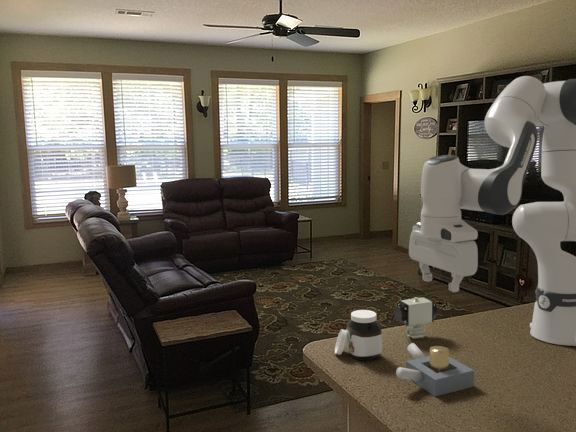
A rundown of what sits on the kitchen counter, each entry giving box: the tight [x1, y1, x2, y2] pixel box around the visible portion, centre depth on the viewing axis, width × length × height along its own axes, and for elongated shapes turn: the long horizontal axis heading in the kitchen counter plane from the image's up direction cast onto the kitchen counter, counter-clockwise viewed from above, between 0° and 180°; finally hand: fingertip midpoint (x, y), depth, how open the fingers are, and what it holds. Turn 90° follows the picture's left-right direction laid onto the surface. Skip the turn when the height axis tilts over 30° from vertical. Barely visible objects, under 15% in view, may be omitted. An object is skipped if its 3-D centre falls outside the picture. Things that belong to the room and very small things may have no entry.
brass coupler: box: [429, 345, 450, 373], centre depth 120 cm, size 4×4×8 cm
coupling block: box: [395, 342, 475, 397], centre depth 122 cm, size 17×17×6 cm
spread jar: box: [334, 309, 383, 361], centre depth 136 cm, size 12×11×12 cm
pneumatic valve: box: [394, 296, 439, 340], centre depth 148 cm, size 6×12×12 cm, turn 106°
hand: (440, 285), depth 117 cm, fingers open, 8 cm apart
